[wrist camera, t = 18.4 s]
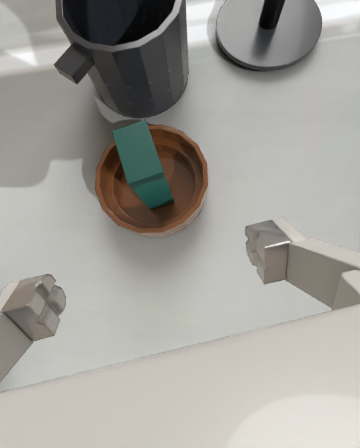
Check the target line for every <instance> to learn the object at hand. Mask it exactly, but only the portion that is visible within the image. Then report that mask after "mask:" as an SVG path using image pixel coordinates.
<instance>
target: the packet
mask: <svg viewBox="0 0 360 448" xmlns="http://www.w3.org/2000/svg"><path fill="white" fill-rule="evenodd" d="M112 134H113V137H114V140H115V144H116V147H117V150H118V154H119V157H120V160H121V163H122V167H123V170H124V173H125V177H126V180H127V183H128V185H129V186H130V187H131V188H132V189H133V191H134V192H135V193H136V194H137V195H138V196H139V197H140V199H141V200H142V201H143V202H144V203H145V204H146V205H147V206H148V208H149V209H150V210H153V209H156V208H159V207H162V206H165V205H168V204H171V203H174V199H173V196H172V193H171V190H170V188H169V185H168V182H167V179H166V176H165V173H164V170H163V167H162V164H161V161H160V159H159V156H158V153H157V150H156V147H155V145H154V142H153V139H152V136H151V134H150V131H149V128H148V125H147V123H146V120H143V121H140V122H137V123H134V124H131V125H128V126H125V127H123V128H120V129H117V130H114V131H112Z"/></svg>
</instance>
